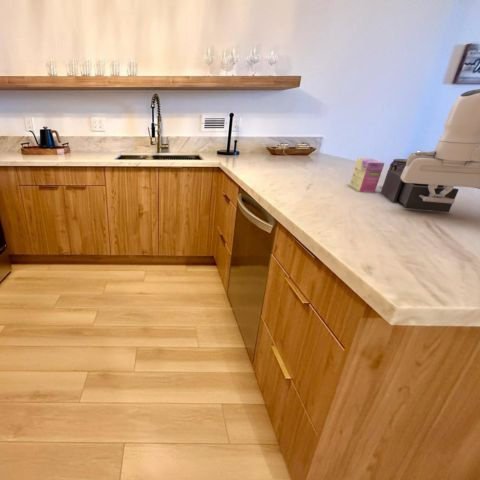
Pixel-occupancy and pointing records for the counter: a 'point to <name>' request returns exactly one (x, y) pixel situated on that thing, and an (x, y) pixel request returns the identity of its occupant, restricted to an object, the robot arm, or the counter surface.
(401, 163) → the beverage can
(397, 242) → the counter surface
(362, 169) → the box
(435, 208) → the basket
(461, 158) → the robot arm
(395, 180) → the fryer
